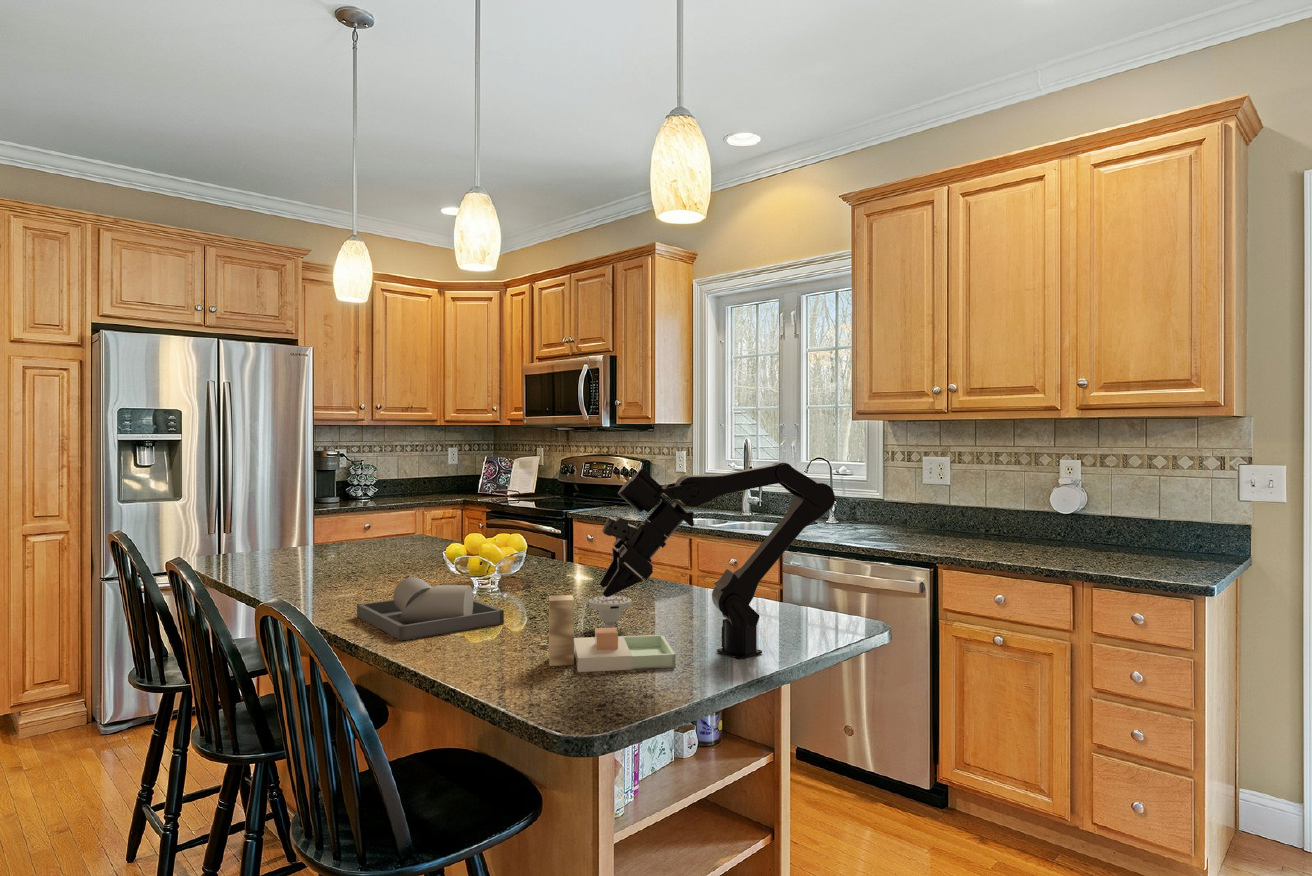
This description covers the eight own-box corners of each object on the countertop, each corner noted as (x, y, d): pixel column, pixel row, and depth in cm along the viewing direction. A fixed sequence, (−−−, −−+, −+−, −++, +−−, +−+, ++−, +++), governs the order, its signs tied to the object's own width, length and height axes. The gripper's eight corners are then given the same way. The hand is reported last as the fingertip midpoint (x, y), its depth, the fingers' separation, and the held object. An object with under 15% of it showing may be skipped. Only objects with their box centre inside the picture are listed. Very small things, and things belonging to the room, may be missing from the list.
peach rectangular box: (615, 643, 148) (615, 627, 148) (618, 648, 144) (618, 632, 144) (594, 644, 147) (594, 628, 147) (596, 649, 143) (596, 633, 143)
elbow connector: (369, 623, 167) (460, 624, 166) (373, 574, 169) (463, 574, 169) (397, 622, 184) (480, 622, 184) (400, 577, 186) (483, 578, 186)
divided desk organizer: (503, 623, 173) (503, 610, 173) (400, 641, 158) (400, 626, 158) (452, 603, 194) (452, 591, 194) (357, 617, 179) (357, 604, 179)
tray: (662, 646, 154) (662, 634, 154) (675, 667, 140) (675, 654, 140) (623, 648, 153) (623, 636, 153) (632, 669, 139) (632, 656, 139)
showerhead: (625, 589, 175) (636, 598, 166) (625, 621, 175) (636, 632, 166) (584, 592, 173) (592, 601, 163) (584, 624, 173) (593, 635, 163)
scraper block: (572, 657, 147) (572, 595, 147) (573, 664, 142) (573, 600, 142) (548, 658, 146) (548, 595, 146) (549, 665, 141) (549, 600, 141)
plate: (623, 648, 153) (623, 636, 153) (632, 669, 139) (632, 655, 139) (573, 650, 151) (573, 638, 151) (577, 672, 138) (577, 658, 138)
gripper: (621, 497, 156) (569, 555, 154) (630, 505, 137) (572, 571, 136) (661, 533, 157) (611, 591, 156) (676, 545, 138) (619, 612, 137)
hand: (602, 590), depth 146 cm, fingers open, 9 cm apart
